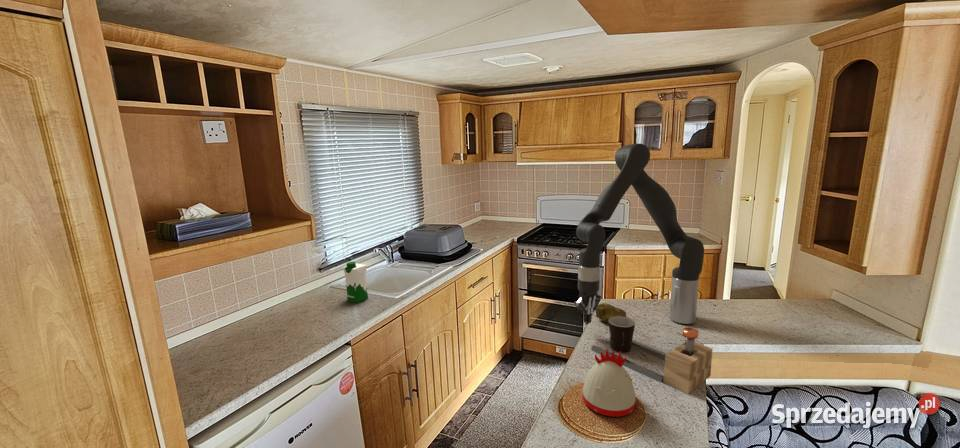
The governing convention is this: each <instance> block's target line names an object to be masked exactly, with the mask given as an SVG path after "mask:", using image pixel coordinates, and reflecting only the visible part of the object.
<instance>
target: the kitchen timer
mask: <svg viewBox="0 0 960 448" xmlns="http://www.w3.org/2000/svg"><path fill="white" fill-rule="evenodd" d="M605 350H606V355H605V356H604V355H603V353H602V352H600V354H599V355H600V358H598V356H597V354H594V359H595V361H596V363H595V364H594V365H593V366H592V367H590V370H589V371H588V373H587V375H586V377H585V380H584V383H583V388H582V400H583V403H584V404H585V406H586V407H588V408H589V409H591V411H594V412H595V413H597V414H601V415H604V416H608V417H624V416H627V415H629V414H632V412H634V410H635V408H636V391H635V387H634V385H633V379H632V378H631V377H630V375H629V373H628V371H627V369H626V368H625V366H624V365H623V364H624V362H625V360H626V359H627V356H624V357H623V358H624V359H621V357H622V353H621V351H620V352H618V357H617V358H616V357H615V355H614V354H615V351H614V350H612V349H611V350H612V351H611V353H612V355H611V357H610V356H609V352H610V351H609V350H608V348H606V349H605ZM608 351H609V352H608Z"/></svg>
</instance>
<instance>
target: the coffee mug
mask: <svg viewBox="0 0 960 448" xmlns="http://www.w3.org/2000/svg"><path fill="white" fill-rule="evenodd" d="M608 321H609V323H608V329H609V342H610V348H611V350H614V352H616V353H619V352H620V351H621V354H626V353H629V352H631V350H632V346H631V344H632V340H633V337H634V333H635V327H636V322H635V320H633V318H632V319H631V318H630V317H627V316H626V317H621V316H615V317H611V318H609V320H608Z"/></svg>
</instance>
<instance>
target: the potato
mask: <svg viewBox="0 0 960 448" xmlns="http://www.w3.org/2000/svg"><path fill="white" fill-rule="evenodd" d="M594 311H595V316H596V318H597V319H599V320H600V321H602V322H606V323H608V324H609V321H608V320H609V318H611V317H615V316H621V317H627V312H626V311H625V309H624V310H623V309H622V308H619V307H616V306H614V305H611V304H610V303H603V302H602V303H599V304H598V306H597V308H596V310H594Z"/></svg>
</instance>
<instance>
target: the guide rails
mask: <svg viewBox="0 0 960 448" xmlns="http://www.w3.org/2000/svg"><path fill="white" fill-rule="evenodd" d="M590 347H591V349H590V350H591V351H592V352H594V353H597V354H598V355H600V352H602V353H603V355H604V356H605V355H606V350H607V349H604V348H602V347H600V346H597V345H595V344H594V345H592V346H590ZM631 347H633V348H636V349H638V350H641V351H643V352H645V353H647V354H650V355H652V356H654V357H657V358H660V359H661V360H664V361H665V355H666V354H667V353H666V352H663V351H661V350H658V349H655V348H654V347H652V346H651V347H650V346H648V345H645V344H643V343H641V342H638V341H636V340H633V339H632V344H631ZM608 352H609V356H610V357H611V355H612V351H609V350H608ZM614 355H615V357H616V358H617V357H618V355H617V354H615V353H614ZM624 358H625V357H622V356H621V359H624ZM622 366H623V367H626V368H629V369H631V370H633V371H634V372H635V371H636V372H637V373H639V374H641V375H643V376H647V377H648V378H650V379H653V380H656V381H657V382H660V383H664V374H661V373H658V372H656V371H654V370H651V369H649V368H648V367H644V366H642V365H640V364H638V363H636V362H633V361H631V360H629V359H627V358H626V360H625V362H624V364H623V365H622Z"/></svg>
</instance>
